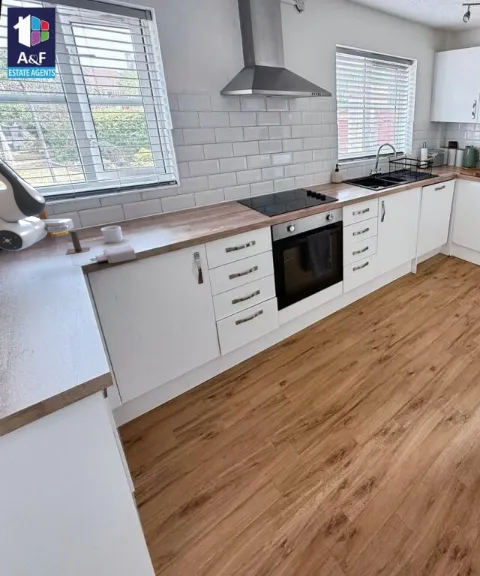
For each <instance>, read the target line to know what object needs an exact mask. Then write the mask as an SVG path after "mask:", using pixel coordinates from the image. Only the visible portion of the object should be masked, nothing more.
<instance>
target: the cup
mask: <svg viewBox="0 0 480 576" xmlns="http://www.w3.org/2000/svg"><path fill="white" fill-rule="evenodd" d="M100 231H101V234H102V236H103V238H104V241H105V243H109V244H110V243H111V244H113V243H118V242H121V241H123V240H124V237H123V232H122V227H121V226H120V225H109V226H108V225H107V226H104V227H101V228H100Z"/></svg>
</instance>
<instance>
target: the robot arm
mask: <svg viewBox="0 0 480 576" xmlns="http://www.w3.org/2000/svg"><path fill="white" fill-rule="evenodd" d="M0 182H2V183H3V184H4V185H5V189H3V190H1V191H0V249H2V250H5V251H21V250H24V249H27V248H29V247H31V246H33V245H34V244H35V243H38V242H39V241H41V240H42V239H44V238H46V237H45V236H46V235H47V232H63V231H67V230H68V231H71V230H73V229H74V227H75V225H74V221H73V219H72V218H49V219H40V218H38V217H36V216H37V215H38V216H39V214H41V213H42V212H43V210H44V208H46V203H47V202H46V199H45V197H44V196H43V194H42V193H40V192H39V190H37V189H36V188H35V187H33V186H32V185H31V184H30V183H29V182H28V181H26V180H25V179H24V178H23V177H22V176H21V175H19V174H18V173H17V172H16V171H15V169H13V168H12V167H11V166H10V165H9V164H8V163H7V162H6V161H5V160H4V159H3V158H1V157H0Z"/></svg>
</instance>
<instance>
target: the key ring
mask: <svg viewBox="0 0 480 576" xmlns="http://www.w3.org/2000/svg"><path fill="white" fill-rule="evenodd" d="M38 217H39V219H50V218H49V215H48V211H47V208H46V207H45V208H44V210H43V212H42V213H41V214H38ZM68 234H70V232H69V230H67V231H63V232H47V235H46V236H45V237H44V238H46V239H49V238H50V239H51V238H54V237H62V236H66V235H68Z"/></svg>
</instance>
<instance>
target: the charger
mask: <svg viewBox="0 0 480 576" xmlns="http://www.w3.org/2000/svg"><path fill="white" fill-rule="evenodd" d="M102 252H103V253H102V254H98V255H95V257H94V258H90V259H89V260H90V262H95V261H97V263H103V262H107V263H108V264H115V263H122V262H126V261H131V260H136V259H137V256H136V251H135V250H134V248H133V247H132V245H130V244H127V245H123V246H122V245H121V246H117V247H112V248H111V247H110V248H105V249H104V250H103V251H102Z"/></svg>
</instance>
